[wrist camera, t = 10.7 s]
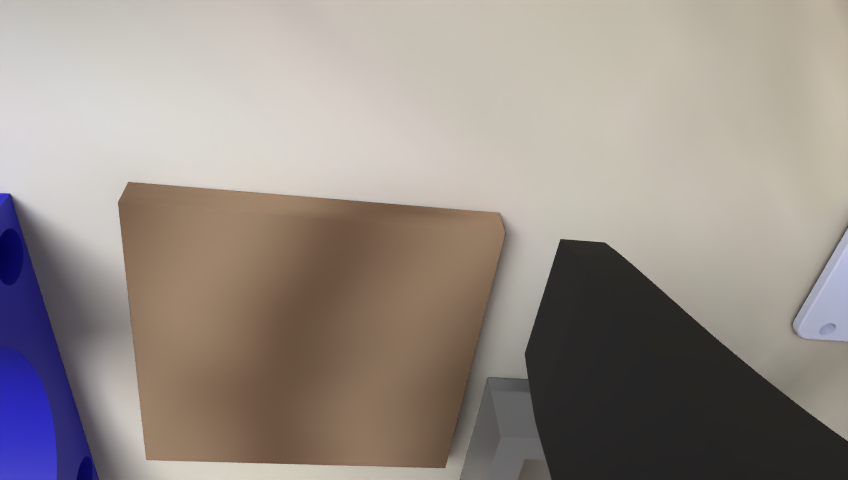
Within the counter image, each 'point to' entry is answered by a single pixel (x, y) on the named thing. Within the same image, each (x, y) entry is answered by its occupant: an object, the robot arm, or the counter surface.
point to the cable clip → (33, 375)
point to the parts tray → (505, 436)
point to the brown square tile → (302, 324)
